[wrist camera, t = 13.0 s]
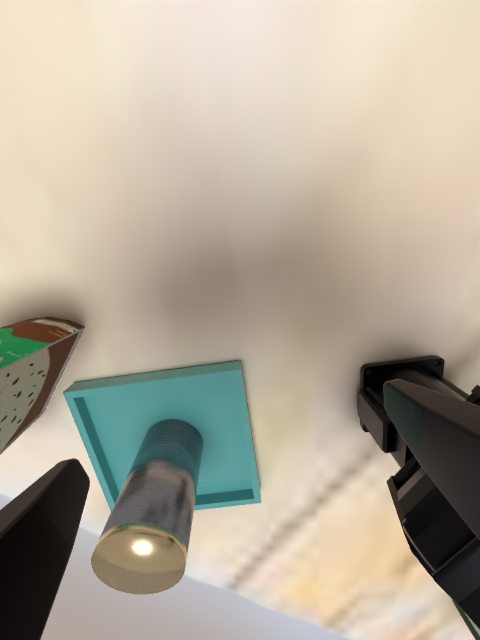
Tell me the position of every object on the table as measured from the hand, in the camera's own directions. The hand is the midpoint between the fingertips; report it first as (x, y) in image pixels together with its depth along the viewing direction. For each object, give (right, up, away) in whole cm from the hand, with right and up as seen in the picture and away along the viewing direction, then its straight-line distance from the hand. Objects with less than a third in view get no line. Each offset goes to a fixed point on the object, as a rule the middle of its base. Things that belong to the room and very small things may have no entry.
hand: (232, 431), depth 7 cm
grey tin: (-6, -8, +16) cm, 19 cm away
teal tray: (-6, -8, +16) cm, 19 cm away
